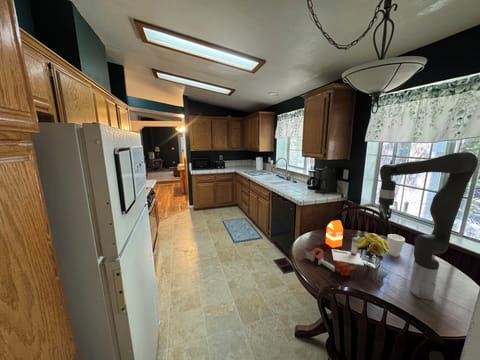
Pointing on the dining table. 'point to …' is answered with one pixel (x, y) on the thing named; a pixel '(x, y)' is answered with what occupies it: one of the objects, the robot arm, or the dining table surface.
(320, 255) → the tape dispenser
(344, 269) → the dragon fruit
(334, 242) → the orange juice
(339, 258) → the paper sheet
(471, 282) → the dining table surface
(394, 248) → the foam cup
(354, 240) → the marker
